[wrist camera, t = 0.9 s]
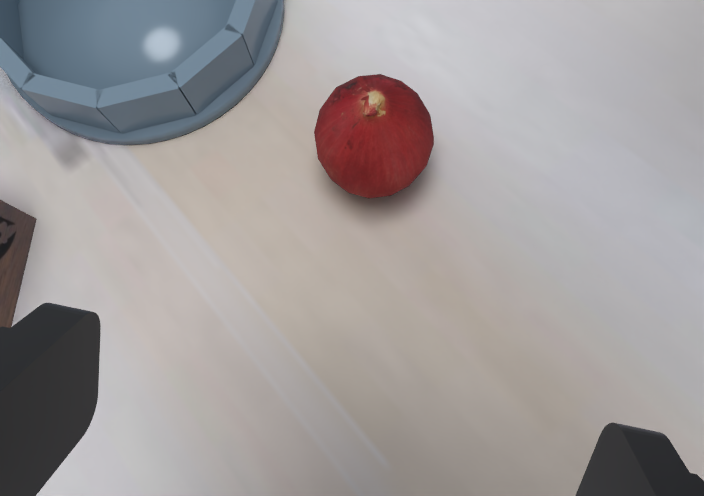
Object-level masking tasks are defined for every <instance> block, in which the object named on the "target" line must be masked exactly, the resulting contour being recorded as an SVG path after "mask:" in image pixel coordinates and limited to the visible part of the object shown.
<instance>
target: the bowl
mask: <svg viewBox="0 0 704 496" xmlns="http://www.w3.org/2000/svg"><path fill="white" fill-rule="evenodd" d="M283 18H284V0H0V67H1V68H2V69H3V70H4V71H5V72H6V73H7V75H8V77H9V79H10V81H11V83H12V84H13V86H14V87H15V88H16V89H17V91H18V92H19V93H20V95H21V96H22V97H23V98H24V99H25V100H26V101H27V102H28V103H29V104H30V105H31V106H32V107H33V108H34V109H36V110H37V111H38V112H39V113H40V114H42V115H43V116H44V117H45V118H47V119H48V120H50V121H51V122H52V123H54V124H55V125H57V126H58V127H60V128H62V129H64V130H66V131H68V132H70V133H72V134H74V135H77V136H80V137H83V138H86V139H89V140H92V141H98V142H103V143H108V144H121V145H136V144H149V143H155V142H160V141H166V140H169V139H173V138H176V137H179V136H182V135H186V134H188V133H190V132H192V131H195V130H197V129H199V128H201V127H204V126H205V125H207V124H209V123H210V122H212V121H214V120H215V119H217V118H219V117H221V116H222V115H223V114H224V113H226V112H227V111H228V110H230V109H231V108H232V107H234V106H235V105H236V104H237V103H238V102H239V101H240V100H241V99H242V98H243V97H244V96H245V95H246V94H247V93H248V92H249V91H250V90H251V89H252V88H253V86H254V85H255V84H256V83H257V81H258V80H259V79H260V78H261V76H262V75H263V73H264V71H265V70H266V68H267V66H268V65H269V63H270V61H271V59H272V57H273V54H274V52H275V50H276V48H277V45H278V42H279V38H280V34H281V31H282V25H283Z"/></svg>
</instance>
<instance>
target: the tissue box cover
mask: <svg viewBox="0 0 704 496" xmlns="http://www.w3.org/2000/svg"><path fill="white" fill-rule="evenodd" d="M35 223H36V219H35V218H34V217H32V216H30V215H28V214H26V213H24V212H22V211H20V210H18V209H17V208H15V207H13V206H11V205H9V204H7V203H5V202H3V201H1V200H0V327H2V326H3V327H8V328H11V325H12V321H13V317H14V313H15V308H16V304H17V300H18V296H19V291H20V287H21V283H22V279H23V274H24V270H25V266H26V261H27V257H28V253H29V249H30V244H31V240H32V236H33V232H34V227H35Z"/></svg>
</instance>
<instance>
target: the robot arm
mask: <svg viewBox="0 0 704 496" xmlns="http://www.w3.org/2000/svg"><path fill="white" fill-rule="evenodd" d="M99 352H100V320H99V317H98V315H97V314H96V313H94V312H90V311H86V310H81V309H76V308H71V307H66V306H62V305H57V304H52V303H44V304H42V305H40V306H39V307H38V308H36V309H35V310H34V311H32V312H31V313H30V314H28V315H27V316H26V317H24V318H23V319H22V320H20V321H19V322H18V323H17V324H15V325H14V326H13V327H11V328H8V327H3V326H2V327H0V496H36V495H37V493H38V492H39V491H40V490H41V488H42V487H43V486H44V485H45V483H46V482H47V481H48V480H49V478H50V477H51V476H52V475H53V473H54V472H55V471H56V470H57V468H58V467H59V466H60V464H61V463H62V462H63V461H64V459H65V458H66V457H67V456H68V454H69V453H70V452H71V451H72V449H73V448H74V447H75V446H76V444H77V443H78V442H79V441H80V439H81V438H82V437H83V435H84V434H85V432H86V431H87V429H88V427H89V425H90V423H91V420H92V418H93V415H94V412H95V408H96V404H97V398H98V378H99ZM576 496H704V481H703V480H702V479H701V478H700V477H699V476H698V475H697V474H692V473H690V472H689V471H688V469H687V468H686V466H685V464H684V463H683V461H682V460H681V458H680V456H679V455H678V453H677V452H676V450H675V448H674V447H673V445H672V444H671V442H670V440H669V439H668V438H667V436H665V435H664V434H663V433H660V432H655V431H650V430H646V429H641V428H636V427H631V426H627V425H622V424H617V423H609V424H608V425H606V427H605V428H604V429H603V431H602V432H601V435H600V437H599V439H598V442H597V444H596V447H595V449H594V452H593V454H592V456H591V459H590V461H589V464H588V466H587V469H586V471H585V474H584V476H583V479H582V481H581V484H580V486H579V489H578V491H577V493H576Z"/></svg>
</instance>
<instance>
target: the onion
mask: <svg viewBox="0 0 704 496" xmlns="http://www.w3.org/2000/svg"><path fill="white" fill-rule="evenodd" d="M314 134H315V141H316V147H317V154H318V159H319V161H320V162H321V164H322V166H323V167H324V169H325V171H326V172H327V174H328V175H329V177H330V178H331V179H332V181H334V182H335V183H336V184H338V185H339V186H340V187H342V188H343V189H344V190H346V191H347V192H348V193H352V194H355V195H359V196H363V197H366V198H375V197H383V196H390V195H392V194H394V193H396V192H398V191H400V190H402V189H404V188H406V187H408V186H409V185H410V184H411V183H412V182H413V181H414V180H415V178H416V177H417V176H418V175H419V174H420V173H421V172H422V171H423V169H424V168H425V167H426V165H427V163H428V160H429V157H430V153H431V150H432V147H433V144H434V136H433V130H432V124H431V117H430V114H429V112H428V110H427V109H426V107H425V105H424V104H423V102H422V101H421V99H420V97H419V96H418V94H417V93H416V92H415V91H413V90H412V89H411V88H410V87H408V86H407V85H406V84H404V83H403V82H402V81H399V80H396V79H393V78H390V77H387V76H384V75H381V74H379V75H368V76H358V77H356V78H354V79H352V80H350V81H348V82H346V83H344V84H342V85H340V86H338V87H336V88H335V90H334V91H333V92H332V94H331V95H330V97H329V98H328V99H327V101H326V102H325V103H324V105H323V106H322V108H321V109H320V111H319V115H318V119H317V123H316V127H315V131H314Z"/></svg>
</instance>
